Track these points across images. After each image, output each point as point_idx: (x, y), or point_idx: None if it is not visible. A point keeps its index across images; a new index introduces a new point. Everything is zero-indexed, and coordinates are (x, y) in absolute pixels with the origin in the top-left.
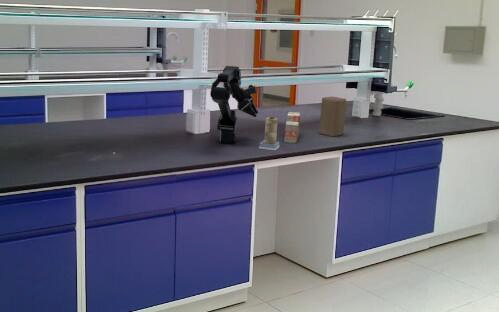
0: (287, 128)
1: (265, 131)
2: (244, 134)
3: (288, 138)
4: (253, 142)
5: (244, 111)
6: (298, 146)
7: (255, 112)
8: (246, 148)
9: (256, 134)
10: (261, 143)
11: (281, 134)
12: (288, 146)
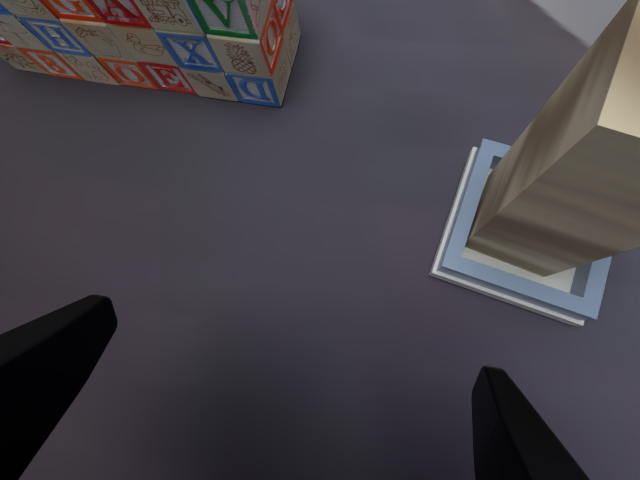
0: (258, 10)
1: (631, 243)
2: None
3: (282, 62)
4: (340, 351)
5: None
6: (406, 24)
7: (93, 351)
8: (604, 444)
9: (38, 296)
10: (598, 301)
11: (35, 108)
12: (423, 88)
